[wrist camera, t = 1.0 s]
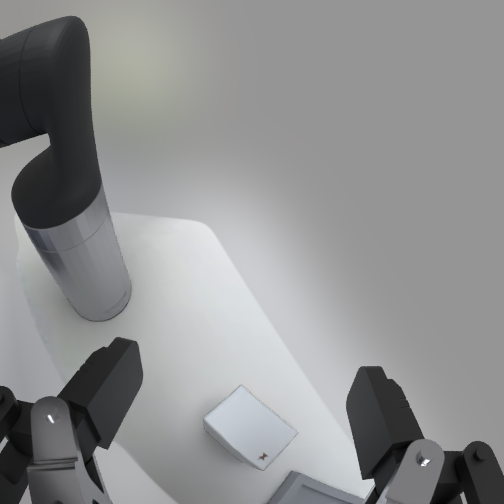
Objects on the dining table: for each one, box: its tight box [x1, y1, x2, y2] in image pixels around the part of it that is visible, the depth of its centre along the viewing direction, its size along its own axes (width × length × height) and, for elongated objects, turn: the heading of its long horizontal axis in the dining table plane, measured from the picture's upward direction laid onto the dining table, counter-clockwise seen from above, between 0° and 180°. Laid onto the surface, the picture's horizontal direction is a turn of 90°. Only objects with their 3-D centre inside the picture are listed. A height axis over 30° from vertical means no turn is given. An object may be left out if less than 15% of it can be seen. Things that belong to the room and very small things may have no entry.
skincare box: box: [203, 385, 298, 471], centre depth 21 cm, size 6×4×12 cm
